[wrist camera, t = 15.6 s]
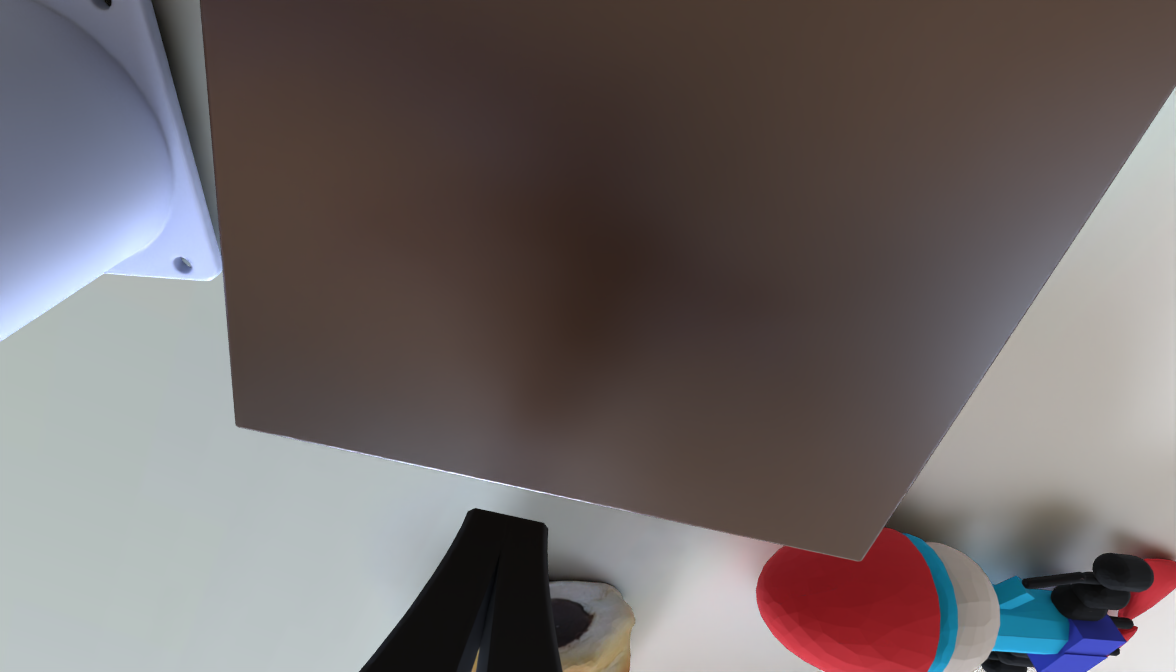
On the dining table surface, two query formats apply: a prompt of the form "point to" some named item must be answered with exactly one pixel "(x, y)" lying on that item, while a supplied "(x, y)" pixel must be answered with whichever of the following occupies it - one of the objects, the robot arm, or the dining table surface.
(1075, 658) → the toy figure
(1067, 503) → the dining table surface
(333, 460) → the dining table surface
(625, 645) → the pastry
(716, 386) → the cabinet
